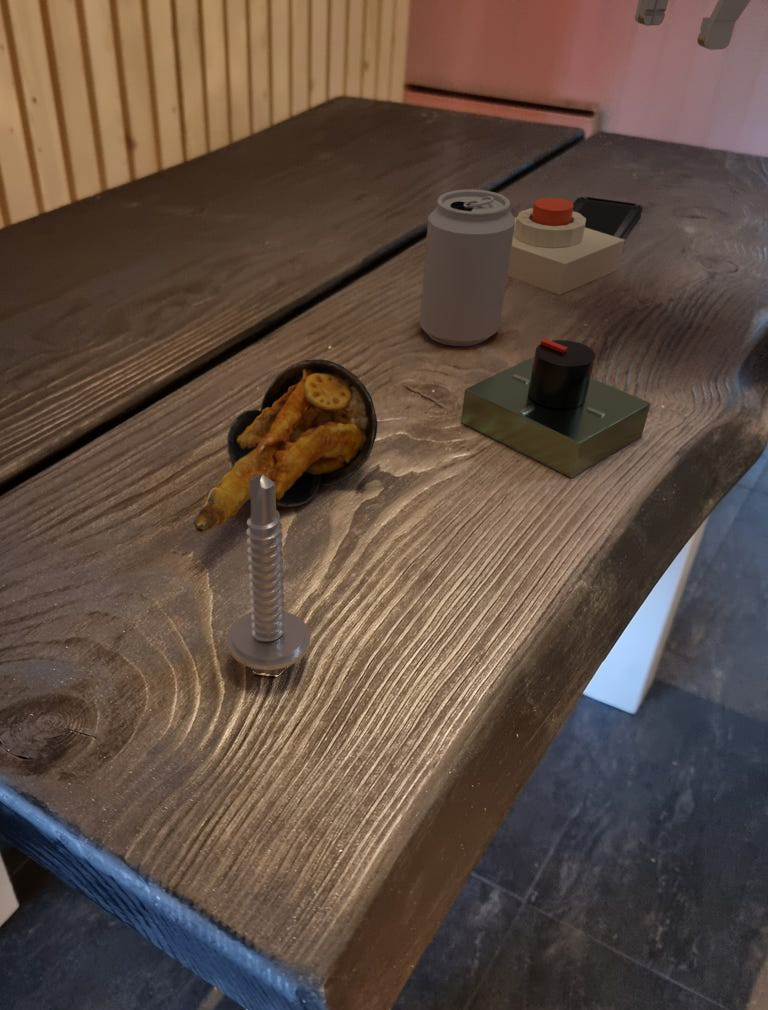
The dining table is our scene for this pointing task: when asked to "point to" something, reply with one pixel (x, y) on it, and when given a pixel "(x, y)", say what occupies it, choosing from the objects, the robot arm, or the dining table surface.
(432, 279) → the can
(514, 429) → the timer panel
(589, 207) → the phone
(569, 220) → the button
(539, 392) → the timer knob
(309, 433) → the fried shrimp in bowl
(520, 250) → the beige button box
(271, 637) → the screw
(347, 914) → the dining table surface
